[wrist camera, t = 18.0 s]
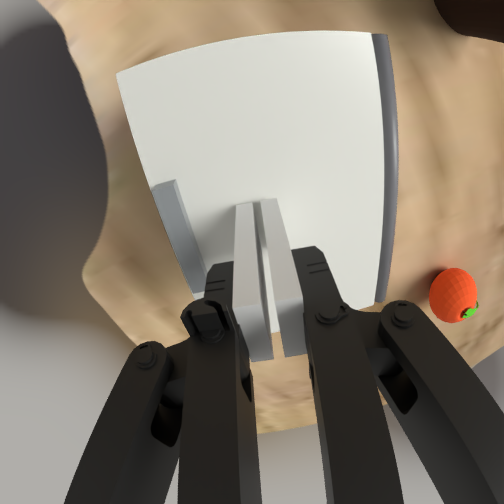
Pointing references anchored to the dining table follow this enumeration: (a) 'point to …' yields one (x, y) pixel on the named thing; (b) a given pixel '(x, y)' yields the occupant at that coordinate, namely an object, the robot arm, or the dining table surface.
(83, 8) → the dining table surface
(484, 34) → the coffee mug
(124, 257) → the dining table surface
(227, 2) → the dining table surface
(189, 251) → the lid
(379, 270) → the grey box
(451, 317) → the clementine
